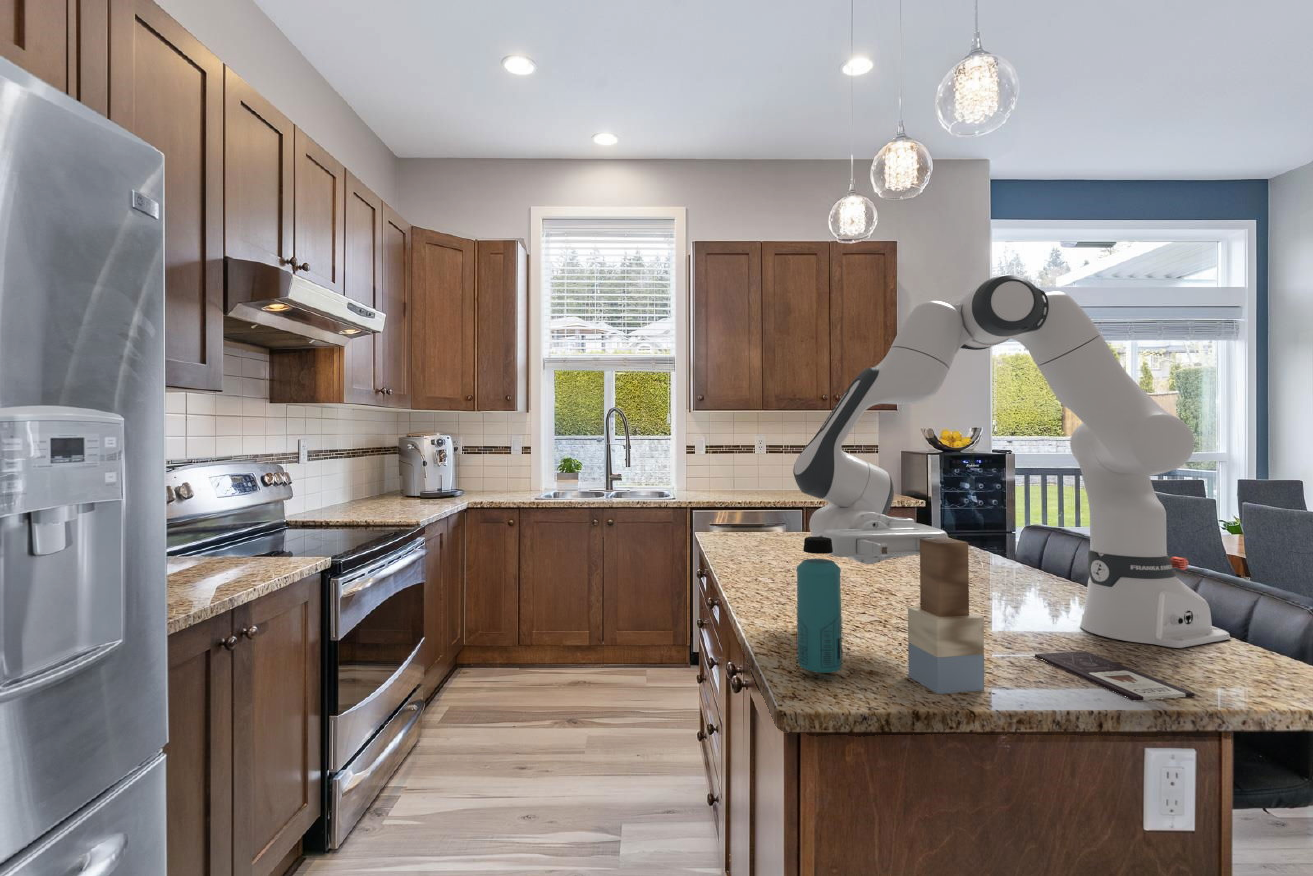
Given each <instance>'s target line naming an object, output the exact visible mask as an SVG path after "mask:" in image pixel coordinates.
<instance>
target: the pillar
mask: <svg viewBox="0 0 1313 876" xmlns="http://www.w3.org/2000/svg"><path fill="white" fill-rule="evenodd" d="M969 562H970V561H969V541H968V542H967V541H963V540H960V539H959V540H958V539H954V538H950V537H948V538H932V539H920V555H919V581H920V582H919V583H920V584H919V586H920V589H919V591H920V592H919V593H920V594H919V595H920V596H919V597H920V599H919V601H920V602H919V604H920V606H919V607H920V609H922V610H924V611H926V612H929V613H931V614H933V615H936V616H938V617H950V616H967V615H969V612H970V586H969V585H970V583H969V580H970V579H969V577H970V576H969V574H970V573H969V566H970V565H969Z"/></svg>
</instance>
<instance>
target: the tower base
mask: <svg viewBox="0 0 1313 876" xmlns="http://www.w3.org/2000/svg"><path fill="white" fill-rule="evenodd" d="M907 647H908V650H907V655H908V657H907V658H908V661H907V662H908V665H907V666H908V668H907V669H908V671H907V672H908V674H907V676H908V677H909V678H911V679H913V680H914V681H916V682H917V683H919V684H921V686H924V687H925V688H927V689H928V690H930V691H932V692H933V693H935V692H936V695H943V694H956V693H958V694H959V693H968V692H969V691H970V692H981V691H985V653H984V654H983V655H967V656H951V657H935V656H933V655H931V654H930V653H928V652H926V651H924V650H922V649H920V648H918V647H916V646H915V645H913V644H911V643H909V642H908V641H907Z"/></svg>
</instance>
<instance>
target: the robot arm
mask: <svg viewBox="0 0 1313 876" xmlns="http://www.w3.org/2000/svg"><path fill="white" fill-rule="evenodd" d="M1010 339H1012V340H1015V341H1016V342H1017V343H1020V344H1021V346H1023V347H1024V348H1025V349H1026V350H1027V351H1028V353H1029V354H1030V357H1031V358H1032V360H1033V362H1034V364H1035V365H1036V367H1037V368H1038V370H1039V372H1040V373H1041V374H1042V376H1043V378H1044V379H1045V382H1047V384H1048V386H1049V388H1050V390H1051V391H1052V393H1053V394H1054V396H1055V397H1056V399H1057V401H1058V402H1059V403H1060V404H1061V405H1062V406H1063V407H1065V408H1066V409H1068V410H1069V411H1070V412H1072V413H1073V414H1074V415H1075V416H1076V417H1077V418H1078V419H1079V420H1080V421H1081V422H1082V424H1080V425H1078V426H1077V427H1076V428H1075V429H1074V430H1073V433H1072V434H1071V437H1070V442H1069V444H1070V451H1071V453H1072V455H1073V457H1074V458H1075V460H1076V461H1077V463H1078V466H1079V468H1080V471H1081V477H1082V480H1083V484H1084V488H1085V493H1086V496H1087V497H1086V498H1087V502H1088V507H1089V508H1088V509H1089V536H1090V537H1089V539H1090V540H1089V541H1090V545H1089V547H1090V549H1088V550H1087V556H1086V560H1087V566H1086V567H1087V570H1088V574H1089V578H1088V579H1087V580H1088V581H1087V588H1086V594H1085V595H1086V596H1085V597H1086V598H1085V602H1084V603H1085V604H1084V608H1083V609H1084V610H1083V613H1082V615H1081V621H1080V626H1079V627H1080V628H1081V629H1083V630H1084V631H1086V632H1089V633H1091V634H1095V635H1096V636H1097V635H1098V636H1101V637H1106V638H1109V639H1114V640H1121V641H1126V642H1133V643H1138V644H1140V643H1141V644H1147V645H1148V644H1150V645H1157V646H1162V647H1167V648H1176V649H1177V648H1178V649H1183V648H1186V647H1187V648H1188V647H1192V646H1198V645H1203V644H1209V643H1214V642H1221V641H1225V640H1229V639H1231V636H1230V633H1229V631H1226V630H1225V629H1221V628H1219V627H1216V626H1213V625H1212V616H1211V608H1210V605H1209V603H1208V602H1207V600H1206V599H1204V598H1203V597H1202V596H1201V595H1200V594H1198V593H1197V592H1196V591H1194V590H1193V589H1192V588H1190V587H1189V586H1187V585H1186V583H1184V582H1183V581H1181V580H1180V579H1179V578H1178V577H1176V576H1177V572H1176V570H1175V569H1180V570H1187V569H1188V567H1189V560H1188V559H1187V558H1185V557H1178V556H1172V557H1170V556H1169V555H1168V551H1167V550H1168V549H1167V547H1168V546H1167V545H1168V544H1167V511H1166V509H1165V506H1164V505H1163V503H1162V502H1161V501H1160V500H1159V498H1158V497H1157V494H1156V492H1155V489H1154V486H1153V483H1152V480H1151V476H1152V477H1153V476H1157V475H1162V474H1165V473H1169V472H1172V471H1174V470H1177V469H1179V468H1181V467H1182V466H1184V465H1185V464H1186V463H1187V462H1188V461H1189V460H1190V458H1191V457H1192V455H1193V452H1194V449H1195V438H1194V435H1193V432H1192V430H1191V428H1190V426H1188V424H1187V423H1186V422H1184V420H1182V419H1181V418H1178V417H1176V416H1175V415H1173V414H1171V413H1170V412H1169V411H1168V410H1167V411H1166V410H1165V409H1164V408H1163V407H1161V406H1160V404H1158V402H1156V401H1155V400H1154V399H1153V398H1152V397H1151V396H1150V395H1149V394H1148V393H1147V392H1146V391H1145V389H1143V388H1142V387H1141V386H1140V385H1139V384H1138V383H1137V382H1136V381H1135V380H1134V379H1133V378H1132V377H1131V376H1130V374H1128V372H1127V371H1126V370H1125V369H1124V368H1123V365H1121V363H1120V361H1119V360H1118V358H1117V357H1116V355H1115V354H1114V353H1113V351H1112V349H1111V348H1110V346H1109V345H1108V343H1107V342H1106V340H1105V338H1104V336H1103V335H1102V334H1101V332H1100V330H1099V329H1098V327H1097V326H1096V325H1095V323H1094V322H1093V320H1092V319H1091V318H1090V316H1089V315H1088V314H1087V313H1086V312H1085V311H1084V309H1083V308H1082V307H1081V306H1080V305H1079V304H1078V302H1076V301H1075V300H1074V298H1073V297H1071V296H1070V295H1069V294H1067V293H1065V292H1062V291H1049V292H1045V291H1044V290H1042V289H1040V288H1038V287H1037V286H1036V285H1034V284H1033V283H1032V282H1031V281H1029V280H1028V279H1026V278H1025V277H1022V276H1019V275H1015V274H1002V275H997V276H994V277H991V278H989V279H987V280H986V281H983V283H981V284H979V285H977V286H976V287H974V288H973V289H971V290H970V291H968V292H967V293H966V295H964V297H962V298H961V299H960V300H959V301H957V302H956V303H954V304H950V303H946V302H944V301H940V300H927V301H924V302H921V303H918V305H916V306H915V307H914V308H913V310H912V311H911V312H910V314H909V315H908V316H907V318H906V319H905V321H904V323H903V324H902V326H901V327H900V329H899V330H898V333H897V334H896V336H895V338H894V340H893V342H892V344H891V345H890V348H889V350H888V352H887V354H886V355H885V356H884V358H883V359H882V360H881V361H880V362H879V363H878V364H877V365H876V366H873V367H871V366H870V367H866V368H865V369H864V370H862V371H861V372H860V373H859V374H858V375H857V376H856V377H854V379H853V381H852V382H851V384H850V385H849V386H848V387H847V388H846V390H845V392H844V393H843V394H842V396H841V397H840V399H839V401H837V403H836V404H835V406H834V408H832V411H831V412H830V414H829V415H828V416H827V417H826V420H825V421H824V423H823V424H822V425H821V427H820V429H819V430H818V431H817V433H816V434H815V436H814V437H813V438H812V439H811V440H810V441H809V443H808V444H807V445H806V446H805V447H804V448H803V450H802V451H801V452H800V453H799V456H798V457H797V459H796V461H795V463H794V466H793V469H792V470H793V471H792V472H793V477H794V480H795V483H796V485H797V487H798V488H799V491H801V493H802V494H803V495H804V494H805V495H808V496H811V497H813V498H817V499H818V500H819V499H820V500H824V501H826V502H828V504H826V505H824V506H822V507H820V508H818V509H816V510H815V511H814V512H813V513H812V514H811V516H810V518H809V532H810V534H811V537H827V538H831V540H832V548H833V552H832V553H828V555H829V556H832V557H836V558H847V559H850V560H853V561H855V562H858V563H860V564H861V563H862V564H864V565H874V564H877V563H879V562H883V561H887V560H890V559H894V558H903V557H904V558H905V557H911V556H912V557H913V556H920V539H932V538H949V537H948V533H947V532H946V531H945V530H943V529H940V528H937V527H934V526H932V525H931V526H930V525H926V524H922V523H918V522H915V519H914V518H910V517H900V516H889V515H888V514H889V512H890V510H891V507H892V504H893V501H894V498H895V497H894V496H895V495H894V484H893V480H892V477H891V475H890V474H889V472H888V470H885V469H884V468H882V467H881V468H880V467H879V466H877V465H875V464H872V463H870V462H869V461H867V460H864V459H860V458H859V457H856V456H854V455H852V454H850V453H848V452H846V451H844V450H843V448H842V446H843V445H844V442H845V441H846V439H847V438H848V436H849V434H851V432H852V430H853V429H854V427H855V426H856V424H857V423H858V421H859V420H860V418H861V417H862V415H863V414H864V413H865V412H866V410H868V409H869V408H871V407H873V406H876V405H881V404H883V405H898V406H899V405H900V406H902V405H903V406H908V405H909V406H910V405H916V404H921V403H924V402H927V401H928V400H930V399H931V398H933V397H934V396H935V395H936V394H937V393H938V392H939V390H940V388H942V386H943V384H944V382H945V380H946V377H947V375H948V373H949V371H950V368H951V366H952V364H953V362H954V359H955V356H956V355H957V354H958V351H960V349H962V350H963V349H964V350H973V351H979V350H986V349H989V348H991V347H994V346H997V345H1000V344H1002V343H1005V342H1007V341H1009V340H1010Z"/></svg>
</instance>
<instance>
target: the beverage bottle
mask: <svg viewBox="0 0 1313 876" xmlns="http://www.w3.org/2000/svg"><path fill="white" fill-rule="evenodd" d="M803 542H804V543H803V551H802V552H804V553H808V554H814V555H815V554H816V555H817V554H818V555H827V554H828V553H832V552H833V548H832V540H831V538H827V537H812V536H807V537H804V540H803ZM828 555H829V554H828ZM841 572H842V569H841V567H840V566H839V565H838V564H837V563H836V562H835V561H833V560H831V559H825V558H806V559H804V560H803V561H802V562H800V563H799V564H798V565H797V566H796V586H797V587H796V589H797V590H796V596H797V597H796V599H797V600H796V602H797V603H796V617H795V618H796V630H797V631H795V632H796V633H795V635H796V636H795V637H796V651H797V652H796V658H797V663H798V665H799V667H800V668H802V669H804V670H806V671H810V672H815V673H823V674H824V673H826V674H827V673H834V672H838V671H840V670H841V669H842V666H843V663H844V662H843V660H844V659H843V658H844V655H843V651H844V648H843V640H844V637H843V635H842V634H843V632H844V631H843V629H844V628H843V615H842V601H843V600H842V595H841V594H842V591H841V588H842V587H841Z"/></svg>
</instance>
